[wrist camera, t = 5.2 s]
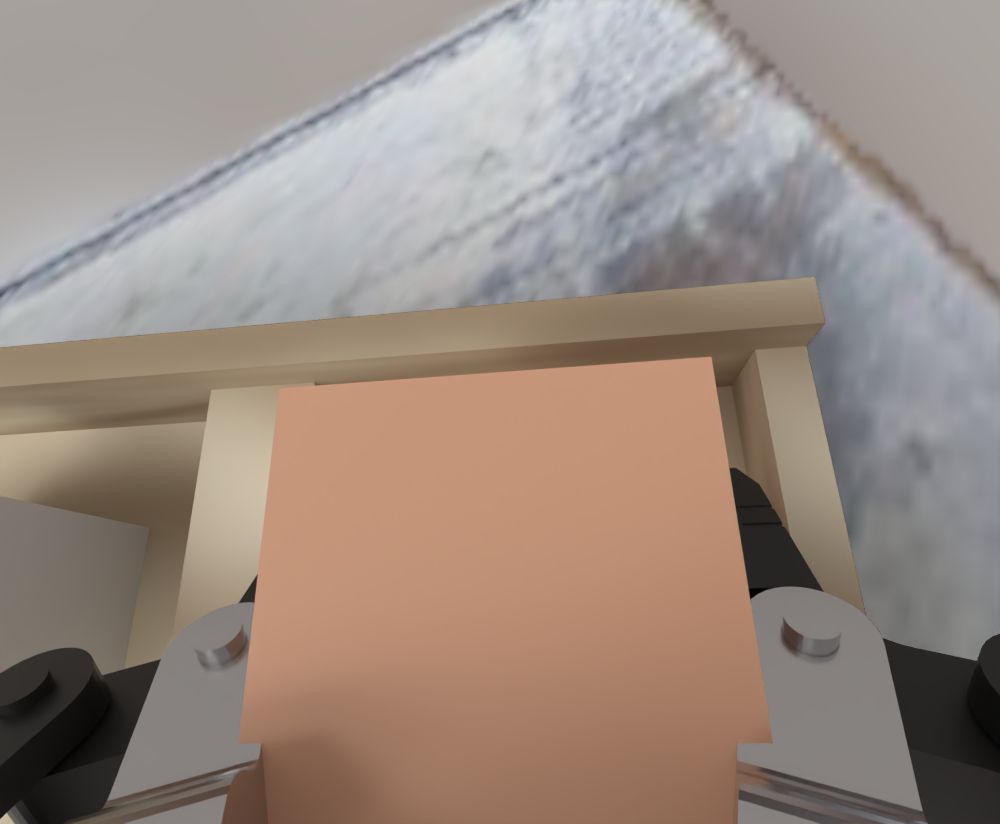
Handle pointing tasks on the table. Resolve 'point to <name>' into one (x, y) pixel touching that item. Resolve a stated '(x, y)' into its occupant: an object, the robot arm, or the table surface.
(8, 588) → the grey block
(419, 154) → the table surface
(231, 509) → the wooden divided tray
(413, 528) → the terracotta block
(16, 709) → the robot arm
